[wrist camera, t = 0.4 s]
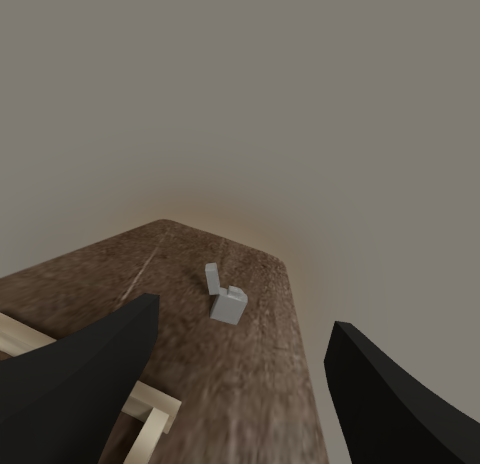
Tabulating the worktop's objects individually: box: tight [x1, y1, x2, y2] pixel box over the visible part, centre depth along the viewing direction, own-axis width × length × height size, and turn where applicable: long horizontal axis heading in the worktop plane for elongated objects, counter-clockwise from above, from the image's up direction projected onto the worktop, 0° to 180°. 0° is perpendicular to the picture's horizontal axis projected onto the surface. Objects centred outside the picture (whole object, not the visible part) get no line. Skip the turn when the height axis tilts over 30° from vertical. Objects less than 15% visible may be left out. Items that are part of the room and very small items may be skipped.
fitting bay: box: [0, 313, 182, 464], centre depth 21 cm, size 12×20×2 cm, turn 76°
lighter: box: [205, 263, 247, 325], centre depth 39 cm, size 7×2×8 cm, turn 90°
